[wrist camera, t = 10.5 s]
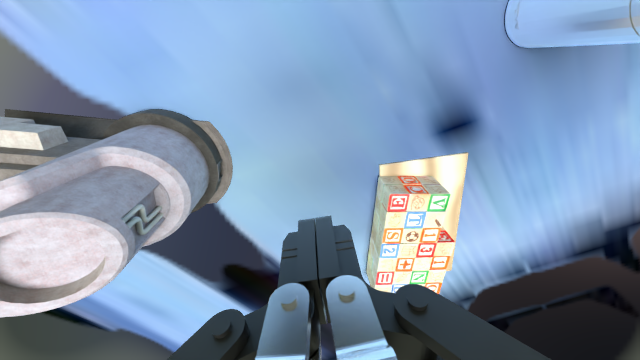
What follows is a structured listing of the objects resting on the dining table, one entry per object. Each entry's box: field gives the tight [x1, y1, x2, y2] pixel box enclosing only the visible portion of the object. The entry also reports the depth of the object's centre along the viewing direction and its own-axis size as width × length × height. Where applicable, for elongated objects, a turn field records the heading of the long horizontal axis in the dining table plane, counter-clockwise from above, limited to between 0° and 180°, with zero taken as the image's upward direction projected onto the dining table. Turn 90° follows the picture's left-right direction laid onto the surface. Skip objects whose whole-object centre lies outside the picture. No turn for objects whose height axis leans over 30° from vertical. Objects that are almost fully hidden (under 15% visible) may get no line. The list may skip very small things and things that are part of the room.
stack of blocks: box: [366, 176, 455, 294], centre depth 44 cm, size 21×6×12 cm
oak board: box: [379, 152, 468, 271], centre depth 47 cm, size 14×26×1 cm, turn 7°
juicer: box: [0, 109, 233, 317], centre depth 27 cm, size 30×16×24 cm, turn 84°
